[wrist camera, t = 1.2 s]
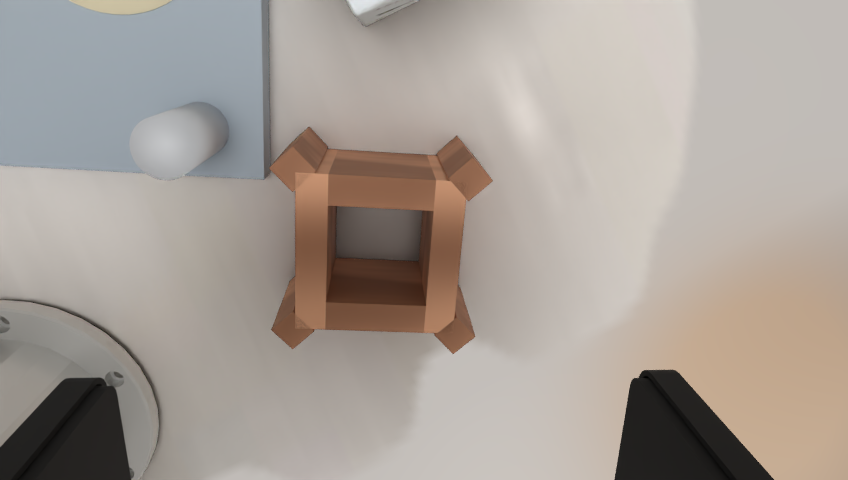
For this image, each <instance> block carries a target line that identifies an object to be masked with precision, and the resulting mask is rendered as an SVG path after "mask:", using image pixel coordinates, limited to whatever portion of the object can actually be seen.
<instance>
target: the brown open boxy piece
mask: <svg viewBox="0 0 848 480" xmlns="http://www.w3.org/2000/svg"><path fill="white" fill-rule="evenodd" d="M327 148H328V146H327V145H326V144H325V143H324V142H323V141H322V140H321V139H320V138H319V137H318V136H317V135H316V133H315V132H314V131H313V130H312V129H311V128H310V127H308V128H307V129H306V130H305V131H304V132H303V133H302V134H300V135H299V136H298V137H297V138H296V139H295V140H294V141H293V142H292V143H291V144H290V145H289V146H288V147H287V148H286V149H285V150H284V152H283V153H282V154H281V155H280V156H279V157H278V158H277V160H276V161H275V162H274V163H273V164H272V165H271V167H270V168H269V169H270V170H271V171H272V172H273V173H274V174H275V175H276V176H277V177H278V178H279V179H280V180H281V181H282V182H283V183H284V184H285V185H286V186H287V187H288V188H289V189H290V190H291V191H292V192H293V191H294V190H295V277H294V278H293V279H292V280H290V282H289V285H288V287H287V290H286V292H285V295H284V298H283V300H282V303H281V306H280V308H279V311H278V313H277V316H276V319H275V321H274V324H273V327H272V329H271V330H272V331H273V332H274V333H275V334H276V335H277V336H279V337H280V338H281V339H282V340H283V341H284V342H285V343H286V344H287V345H289V346H290V347H291V348H292V349H294V348H295V347H296V346H297V345H298V344H300V343H301V342H302V341H303V340H304V339H305V338H307V337H308V336H309V335H310V334H311V333H313V332H314V329H326V330H356V331H387V332H417V333H434V335H435V336H436V337H437V338H438V339H439V340H440V341H441V342H442V343H443V344H444V345H445V346H446V347H447V348H448V349H449V350H450V351H451V352H452V353H453V354H454V353H455V352H456V351H458V350H459V349H460V348H462V347H463V346H464V345H465V344H467V343H468V342H469V341H470V340H472V339H473V338H474V337H475V334H474V331H473V327H472V324H471V321H470V318H469V314H468V311H467V308H466V305H465V302H464V298H463V295H462V292H461V289H460V287H459V286H458V276H459V266H460V256H461V246H462V236H463V226H464V216H465V205H466V199H467V200H468V201H469V200H471V199H472V198H473V197H474V196H475V195H477V194H478V193H479V192H480V191H481V190H483V189H484V188H485V187H486V186H487V185H489V184H490V183H491V182H492V181H493V180H492V179H491V178H490V176H489V175H488V174H487V172H486V171H485V170H484V169H483V167H482V166H481V165H480V163H479V162H478V161H477V159H476V158H475V157H474V156H473V154H472V153H471V152H470V151H469V150H468V148H467V147H466V146H465V145H464V144H463V143H462V141H461V140H460V139H459V138H458V137H457V136H456V137H455V138H454V139H453V140H451V141H450V142H449V143H448V144H447V145H446V146H445V147H443V148H442V149H441V150H440V151H439V152H438V153H437V155H438V156H436V155H420V154H403V153H386V152H369V151H352V150H336V149H327ZM337 206H346V207H366V208H385V209H405V210H423V211H422V225H421V238H420V252H419V261H399V260H376V259H353V258H335V256H336V216H337Z"/></svg>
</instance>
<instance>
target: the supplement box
mask: <svg viewBox="0 0 848 480" xmlns="http://www.w3.org/2000/svg"><path fill="white" fill-rule="evenodd" d="M345 1H346V3H347V4H348V6H349V8H350V10H351V11H352V13H353V14H354V16H355V17H356V18H357V19H358V20H359V21H360V22H361V24H362V25H363V26H365V27H367V26H369V25H371V24H372V23H374V22H376V21H378V20H381V19H383V18H385V17H387V16H389V15H391V14H393V13H395V12H397V11H399V10H401V9H403V8H405V7H407V6H409V5H411V4H413V3H415V2H417V1H419V0H345Z"/></svg>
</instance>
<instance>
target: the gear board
mask: <svg viewBox="0 0 848 480" xmlns="http://www.w3.org/2000/svg"><path fill="white" fill-rule="evenodd" d="M0 165H3V166H22V167H40V168H58V169H77V170H95V171H113V172H132V173H146V174H148V175H149V176H151V177H154V178H156V179H160V180H174V179H178V178H180V177H182V176H184V175H187V176H205V177H224V178H242V179H260V180H264V179H265V178H266V177H267V176H268V175H269V173H270V172H271V170H270V169H269V168H270V91H269V12H268V0H0Z"/></svg>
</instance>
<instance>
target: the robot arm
mask: <svg viewBox="0 0 848 480" xmlns="http://www.w3.org/2000/svg"><path fill="white" fill-rule="evenodd" d="M158 431H159V419H158V408H157V404H156V401H155V398H154V395H153V392H152V389H151V386H150V384H149V383H148V381H147V379H146V377H145V376H144V374H143V372H142V370H141V369H140V367H139V366H138V365H137V363H136V362H135V361H134V360H133V359H132V357H131V356H130V355H129V354H128V353H127V352H126V350H125V349H124V348H123V347H121V346H120V345H119V344H118V343H117V342H116V341H114V340H113V339H112V338H111V337H110V336H108V335H107V334H106V333H105V332H103V331H102V330H100V329H98V328H97V327H95V326H93V325H92V324H90V323H88V322H86V321H85V320H83V319H81V318H79V317H76V316H74V315H71V314H69V313H67V312H64V311H62V310H59V309H57V308H53V307H48V306H44V305H40V304H36V303H32V302H23V301H10V300H0V480H140V478H141V476H142V475H143V473H144V471H145V470H146V468H147V466H148V465H149V463H150V460H151V458H152V455H153V453H154V450H155V448H156V445H157V438H158ZM615 480H774V479H773V478H772V477H771V476H770V475H769V473H768V472H767V471H766V470H765V469H764V468H763V467H762V466H761V464H760V463H759V462H758V461H757V460H756V459H755V458H754V457H753V456H752V454H751V453H750V452H749V451H748V450H747V449H746V448H745V447H744V446H743V444H742V443H741V442H740V441H739V440H738V439H737V438H736V436H735V435H734V434H733V433H732V432H731V431H730V430H729V429H728V428H727V426H726V425H725V424H724V423H723V422H722V421H721V420H720V419H719V418H718V417H717V415H716V414H715V413H714V412H713V411H712V410H711V409H710V407H709V406H708V405H707V404H706V403H705V402H704V401H703V400H702V399H701V397H700V396H699V395H698V394H697V393H696V392H695V391H694V390H693V388H692V387H691V386H690V385H689V384H688V383H687V382H686V381H685V380H684V378H683V377H682V376H681V375H680V374H679V373H678V372H677V371H675V370H644V371H642V373H641V374H640V376H639V378H634V379H633V380H632V382H631V384H630V389H629V395H628V402H627V408H626V414H625V420H624V426H623V432H622V438H621V444H620V450H619V457H618V462H617V468H616V474H615Z"/></svg>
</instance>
